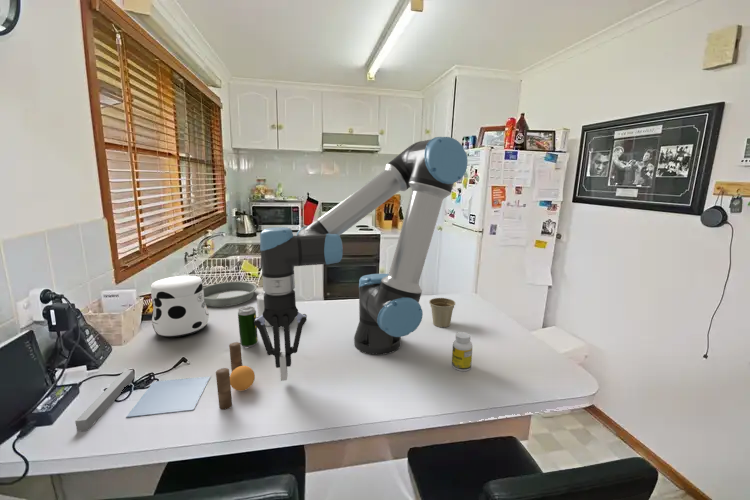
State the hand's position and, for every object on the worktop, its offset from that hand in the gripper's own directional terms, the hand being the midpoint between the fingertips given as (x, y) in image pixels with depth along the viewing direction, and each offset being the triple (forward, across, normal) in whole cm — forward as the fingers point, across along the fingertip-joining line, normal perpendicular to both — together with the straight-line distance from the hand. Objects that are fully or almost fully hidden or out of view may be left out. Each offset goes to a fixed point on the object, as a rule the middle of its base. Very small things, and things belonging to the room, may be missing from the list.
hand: (284, 377), depth 90 cm
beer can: (+2, -13, +25) cm, 28 cm away
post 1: (+2, -13, -7) cm, 15 cm away
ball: (-1, -10, 0) cm, 10 cm away
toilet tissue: (+2, -7, +44) cm, 45 cm away
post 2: (+2, -13, +7) cm, 15 cm away
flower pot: (+2, +54, +29) cm, 61 cm away
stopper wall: (+2, -41, 0) cm, 41 cm away
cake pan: (+3, -30, +73) cm, 79 cm away
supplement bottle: (+2, +49, 0) cm, 49 cm away
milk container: (+2, -38, +40) cm, 55 cm away
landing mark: (+2, -27, 0) cm, 27 cm away
